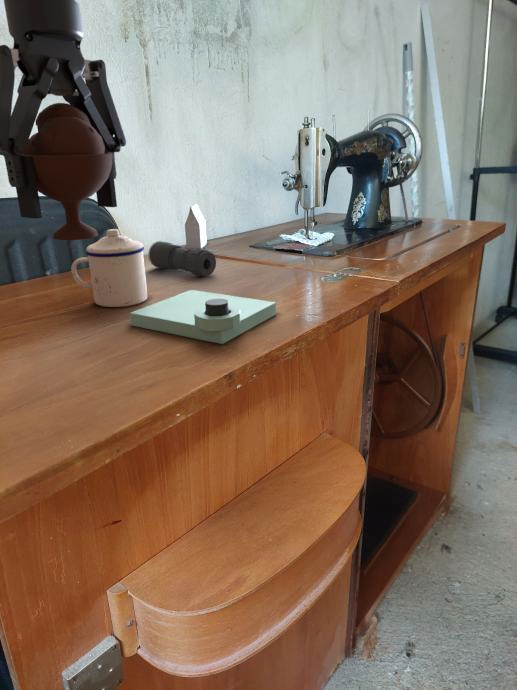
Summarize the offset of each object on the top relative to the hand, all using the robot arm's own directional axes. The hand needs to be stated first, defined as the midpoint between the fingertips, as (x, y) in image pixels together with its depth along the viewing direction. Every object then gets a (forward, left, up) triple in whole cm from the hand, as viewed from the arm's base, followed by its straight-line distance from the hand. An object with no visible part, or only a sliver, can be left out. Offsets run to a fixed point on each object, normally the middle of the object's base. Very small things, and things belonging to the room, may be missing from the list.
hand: (72, 211), depth 63 cm
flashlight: (-15, +37, -17) cm, 43 cm away
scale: (+8, +14, -17) cm, 23 cm away
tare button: (+14, +9, -14) cm, 22 cm away
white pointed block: (-30, +61, -17) cm, 70 cm away
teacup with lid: (-12, +15, -17) cm, 25 cm away
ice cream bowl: (0, 0, -3) cm, 3 cm away
